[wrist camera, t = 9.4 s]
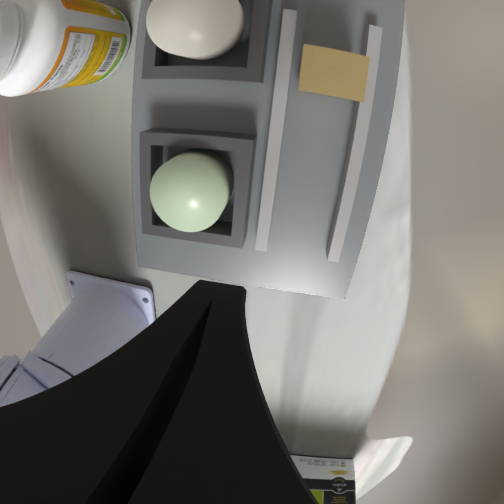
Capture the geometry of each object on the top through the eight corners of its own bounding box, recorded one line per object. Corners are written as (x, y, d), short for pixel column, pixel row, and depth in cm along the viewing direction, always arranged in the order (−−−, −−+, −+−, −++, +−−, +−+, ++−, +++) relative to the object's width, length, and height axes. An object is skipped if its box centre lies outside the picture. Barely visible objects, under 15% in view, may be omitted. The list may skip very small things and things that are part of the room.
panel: (341, 280, 20) (347, 316, 17) (150, 250, 21) (127, 280, 18) (394, -2, 11) (416, -20, 8) (160, -22, 12) (133, -40, 9)
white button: (241, 61, 12) (231, 56, 10) (163, 60, 12) (141, 57, 10) (249, -11, 10) (242, -27, 8) (171, -8, 10) (151, -21, 8)
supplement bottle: (61, 25, 13) (-55, 26, 5) (128, -7, 12) (13, -42, 4) (69, 95, 16) (-50, 126, 8) (138, 69, 15) (14, 76, 7)
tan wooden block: (349, 99, 12) (363, 102, 10) (297, 90, 13) (298, 89, 10) (354, 63, 12) (369, 57, 9) (301, 53, 12) (303, 43, 9)
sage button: (231, 218, 17) (222, 237, 15) (167, 209, 17) (151, 226, 15) (236, 151, 15) (227, 161, 13) (167, 145, 15) (149, 154, 13)
